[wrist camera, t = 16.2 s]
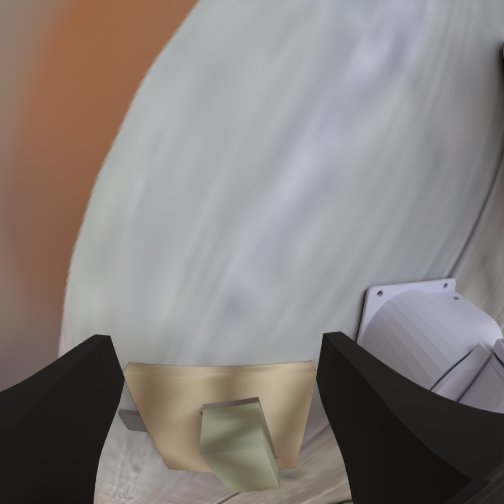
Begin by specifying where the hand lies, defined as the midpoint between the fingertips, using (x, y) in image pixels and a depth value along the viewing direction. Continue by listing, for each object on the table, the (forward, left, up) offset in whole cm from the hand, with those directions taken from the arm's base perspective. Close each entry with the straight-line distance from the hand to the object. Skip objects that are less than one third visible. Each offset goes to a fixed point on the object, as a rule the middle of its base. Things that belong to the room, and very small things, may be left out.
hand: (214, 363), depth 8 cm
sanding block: (-1, +16, -8) cm, 17 cm away
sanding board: (+1, +17, -9) cm, 19 cm away
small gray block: (+10, +17, -10) cm, 22 cm away
